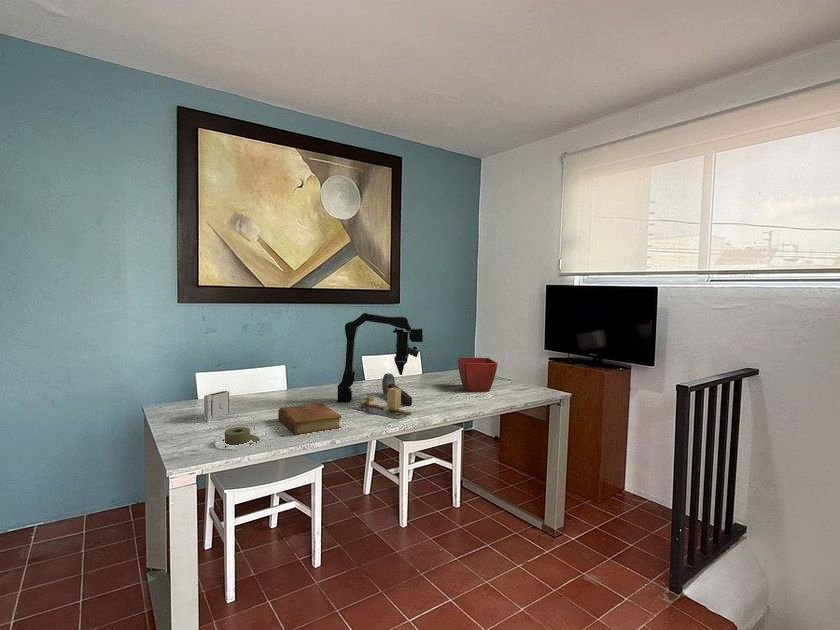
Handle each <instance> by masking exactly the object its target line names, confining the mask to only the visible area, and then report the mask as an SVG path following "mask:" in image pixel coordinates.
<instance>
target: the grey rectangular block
mask: <svg viewBox="0 0 840 630" xmlns="http://www.w3.org/2000/svg"><path fill="white" fill-rule="evenodd" d="M203 409H204V410H203V411H204V412H203V414H204V415H203V418H206V420H205V421H209V420H210V419H211V418H214V417H218V416H221V415H225V414H228V413H229V414H230V391H228V390H225V391H224V390H222V391H218V392H212V393H209V394H205V395H204V396H203ZM229 414H228V415H229Z"/></svg>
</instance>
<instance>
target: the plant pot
mask: <svg viewBox="0 0 840 630" xmlns="http://www.w3.org/2000/svg"><path fill="white" fill-rule="evenodd" d="M498 364H499V363H498V362H496V361H495V360H492V359H491V358H489V357H457V366H458V367H457V368H458V372H459V376H460V377H459V378H460V381H461V385H462V387H463V388H464V389H465V391H467V392H490V390H491V388H492V386H493V384H494V379H495V377H496V373H497V369H498Z"/></svg>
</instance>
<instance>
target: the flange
mask: <svg viewBox="0 0 840 630" xmlns="http://www.w3.org/2000/svg"><path fill="white" fill-rule="evenodd" d="M224 437H225V443H226V444H229V445H239V444H244V443H247V442H249V441H250V440H252V441H253V442H256V443H257V441H259V440H260V439H261V438H260V437H259V436H257V435H254V434H251V429H250V428H249V427H244V426H241V427H239V426H238V427H232V428H228V429H226V430H225V431H224ZM259 442H260V441H259Z"/></svg>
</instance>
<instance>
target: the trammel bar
mask: <svg viewBox="0 0 840 630" xmlns="http://www.w3.org/2000/svg"><path fill="white" fill-rule="evenodd" d="M374 401H375V400H374V397H373V396H370V395H369V396H365V397H364V399H363V400H360V401H359V404H360V405H361V407H363V405H366V406H371V407H375V408H380V409H383V408H386V407H387V405H386V406H384V405H381V404H376V403H375V404H374ZM388 410H389V411H394V412H399V413H403V414H408V416H411V415H412V411H411V410H410V411H409V410H406V409H405V410H404V409H401V408H400V409H397V410H392V409H388Z"/></svg>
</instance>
